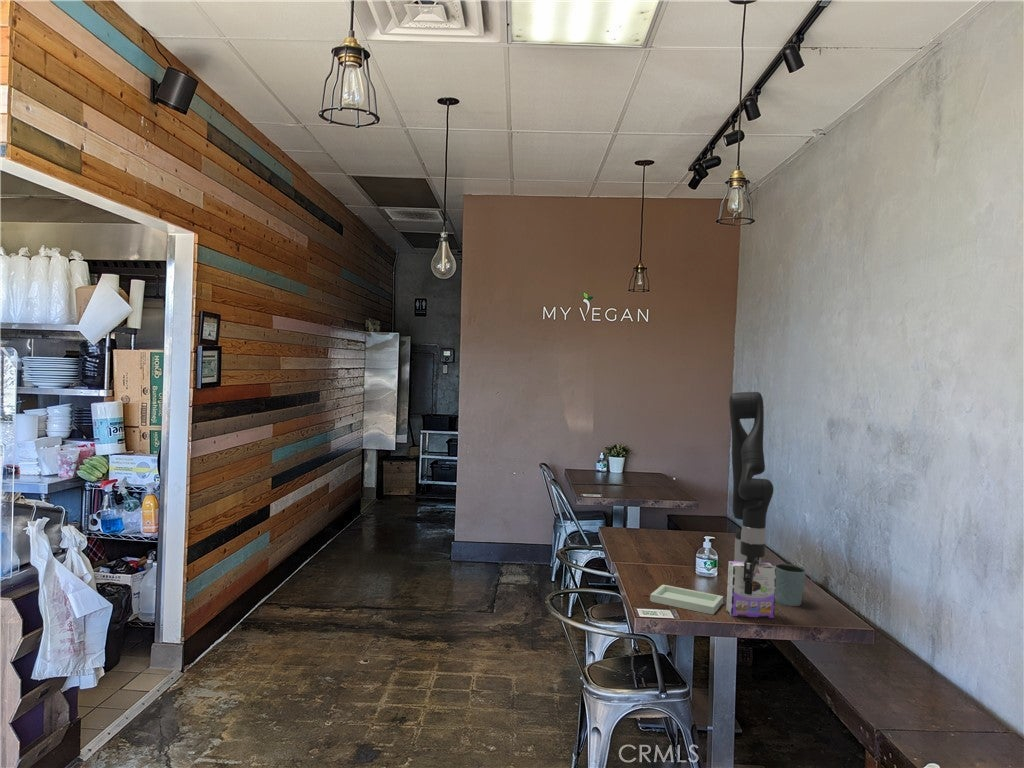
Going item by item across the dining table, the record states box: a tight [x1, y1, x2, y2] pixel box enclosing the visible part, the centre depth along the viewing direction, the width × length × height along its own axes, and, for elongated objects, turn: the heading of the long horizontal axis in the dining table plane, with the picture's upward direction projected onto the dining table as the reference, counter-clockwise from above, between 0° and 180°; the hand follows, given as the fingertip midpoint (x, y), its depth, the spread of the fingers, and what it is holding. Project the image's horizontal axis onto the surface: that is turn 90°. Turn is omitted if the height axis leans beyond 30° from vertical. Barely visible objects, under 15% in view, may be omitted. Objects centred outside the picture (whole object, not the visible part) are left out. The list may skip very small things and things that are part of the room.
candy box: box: [725, 560, 776, 619], centre depth 217 cm, size 14×6×16 cm, turn 89°
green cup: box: [773, 563, 807, 607], centre depth 232 cm, size 10×10×12 cm
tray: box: [649, 584, 724, 615], centre depth 226 cm, size 14×21×2 cm, turn 61°
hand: (750, 590), depth 217 cm, fingers closed on candy box, 8 cm apart
